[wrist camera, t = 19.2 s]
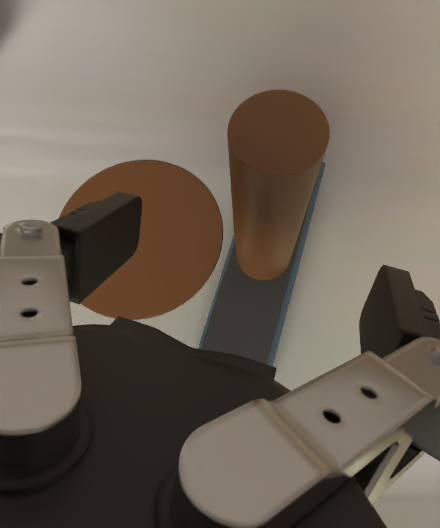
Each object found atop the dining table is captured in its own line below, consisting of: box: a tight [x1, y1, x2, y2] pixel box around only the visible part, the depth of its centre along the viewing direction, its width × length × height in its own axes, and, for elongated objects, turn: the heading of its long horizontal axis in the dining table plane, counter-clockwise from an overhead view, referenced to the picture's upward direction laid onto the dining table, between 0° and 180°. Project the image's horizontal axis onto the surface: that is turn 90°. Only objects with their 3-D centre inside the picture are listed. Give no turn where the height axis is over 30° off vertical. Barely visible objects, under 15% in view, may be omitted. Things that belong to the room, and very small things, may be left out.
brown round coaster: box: [59, 160, 223, 320], centre depth 24 cm, size 10×10×1 cm
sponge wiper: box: [198, 90, 329, 366], centre depth 16 cm, size 4×13×13 cm, turn 163°
